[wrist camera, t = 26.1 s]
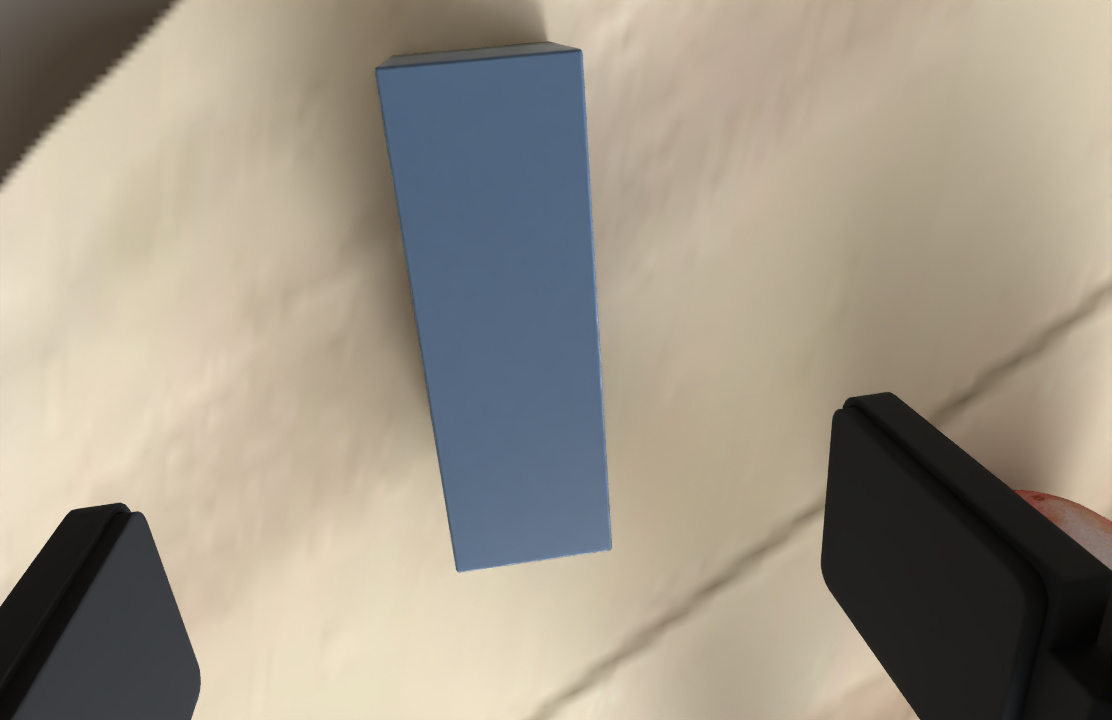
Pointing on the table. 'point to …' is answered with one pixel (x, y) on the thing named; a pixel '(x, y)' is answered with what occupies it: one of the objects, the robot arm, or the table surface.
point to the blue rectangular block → (504, 293)
